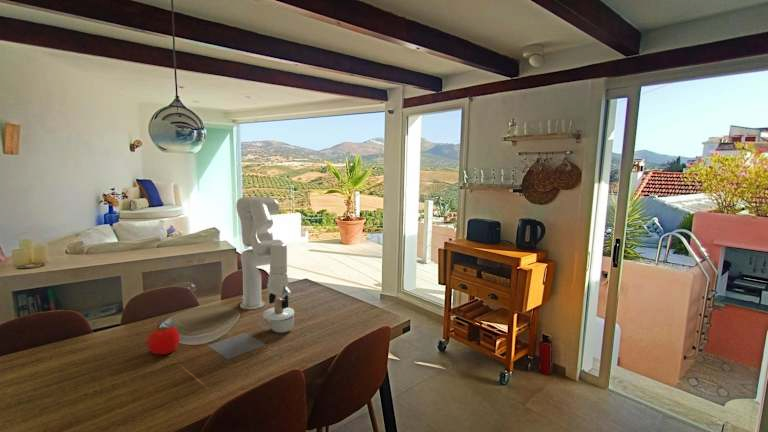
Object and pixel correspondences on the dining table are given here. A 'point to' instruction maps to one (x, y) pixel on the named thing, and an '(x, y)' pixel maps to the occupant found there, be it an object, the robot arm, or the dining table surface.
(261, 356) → the dining table surface
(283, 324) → the teacup
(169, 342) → the tomato
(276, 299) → the lid
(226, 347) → the mat
